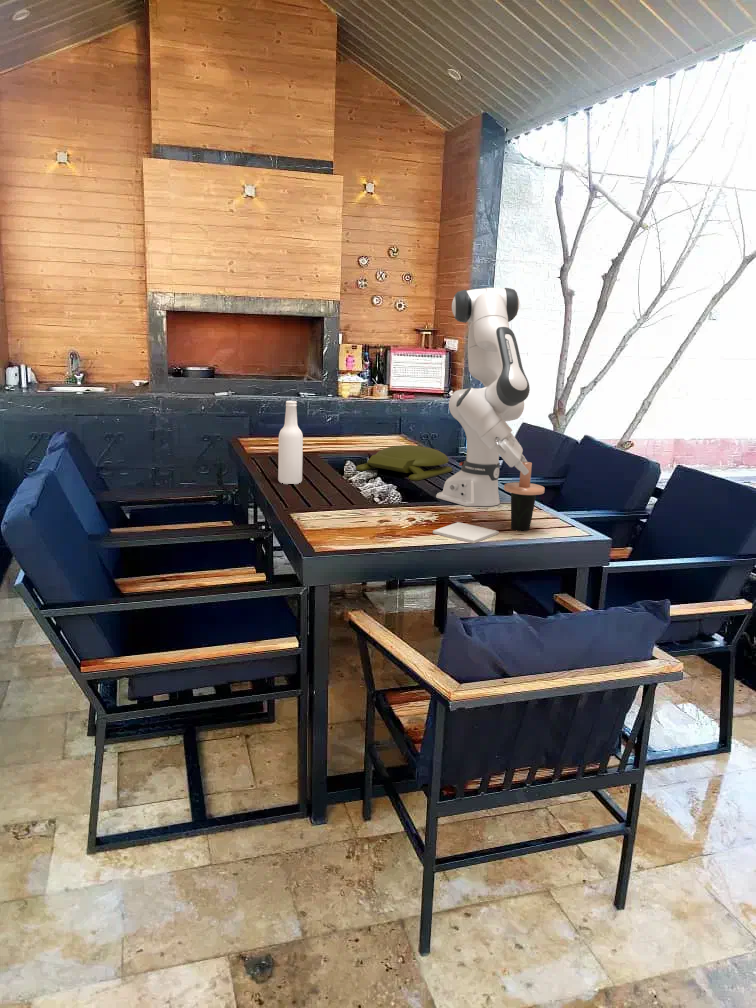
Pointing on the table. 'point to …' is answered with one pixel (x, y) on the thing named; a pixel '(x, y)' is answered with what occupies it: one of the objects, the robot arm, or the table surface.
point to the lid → (524, 484)
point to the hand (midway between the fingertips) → (527, 470)
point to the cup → (521, 511)
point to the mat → (465, 532)
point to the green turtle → (408, 461)
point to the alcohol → (290, 448)
